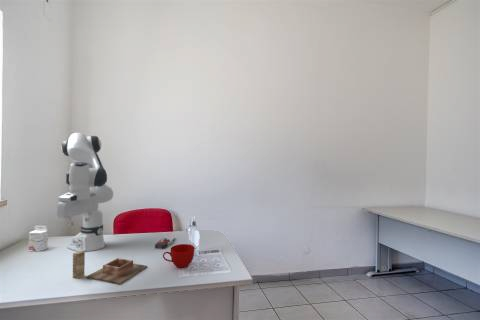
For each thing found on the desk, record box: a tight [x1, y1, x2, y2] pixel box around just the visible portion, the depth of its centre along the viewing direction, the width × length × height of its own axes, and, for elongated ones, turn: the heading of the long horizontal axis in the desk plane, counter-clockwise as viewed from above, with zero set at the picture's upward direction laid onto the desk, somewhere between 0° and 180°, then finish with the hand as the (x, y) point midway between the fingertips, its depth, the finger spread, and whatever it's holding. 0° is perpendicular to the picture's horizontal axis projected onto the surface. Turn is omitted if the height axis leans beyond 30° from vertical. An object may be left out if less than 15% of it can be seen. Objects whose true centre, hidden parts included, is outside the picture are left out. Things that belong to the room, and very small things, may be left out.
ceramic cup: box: [162, 243, 196, 269], centre depth 143 cm, size 13×17×10 cm
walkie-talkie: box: [154, 237, 177, 250], centre depth 179 cm, size 9×4×20 cm
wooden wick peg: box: [72, 251, 86, 279], centre depth 129 cm, size 4×4×12 cm
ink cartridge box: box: [28, 225, 49, 251], centre depth 163 cm, size 9×5×15 cm, turn 92°
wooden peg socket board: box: [86, 257, 148, 286], centre depth 135 cm, size 20×20×5 cm
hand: (79, 223), depth 129 cm, fingers open, 8 cm apart
